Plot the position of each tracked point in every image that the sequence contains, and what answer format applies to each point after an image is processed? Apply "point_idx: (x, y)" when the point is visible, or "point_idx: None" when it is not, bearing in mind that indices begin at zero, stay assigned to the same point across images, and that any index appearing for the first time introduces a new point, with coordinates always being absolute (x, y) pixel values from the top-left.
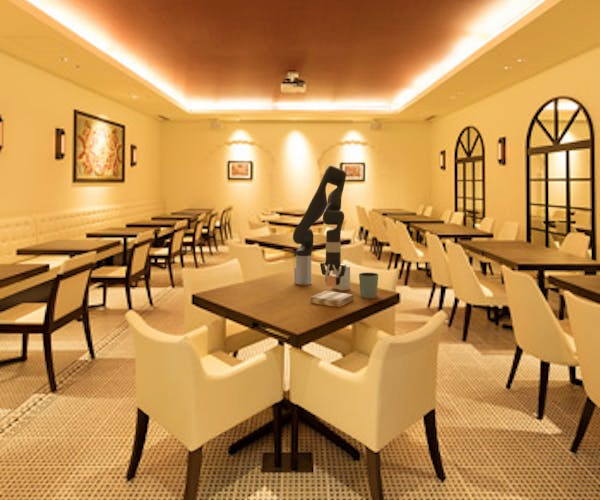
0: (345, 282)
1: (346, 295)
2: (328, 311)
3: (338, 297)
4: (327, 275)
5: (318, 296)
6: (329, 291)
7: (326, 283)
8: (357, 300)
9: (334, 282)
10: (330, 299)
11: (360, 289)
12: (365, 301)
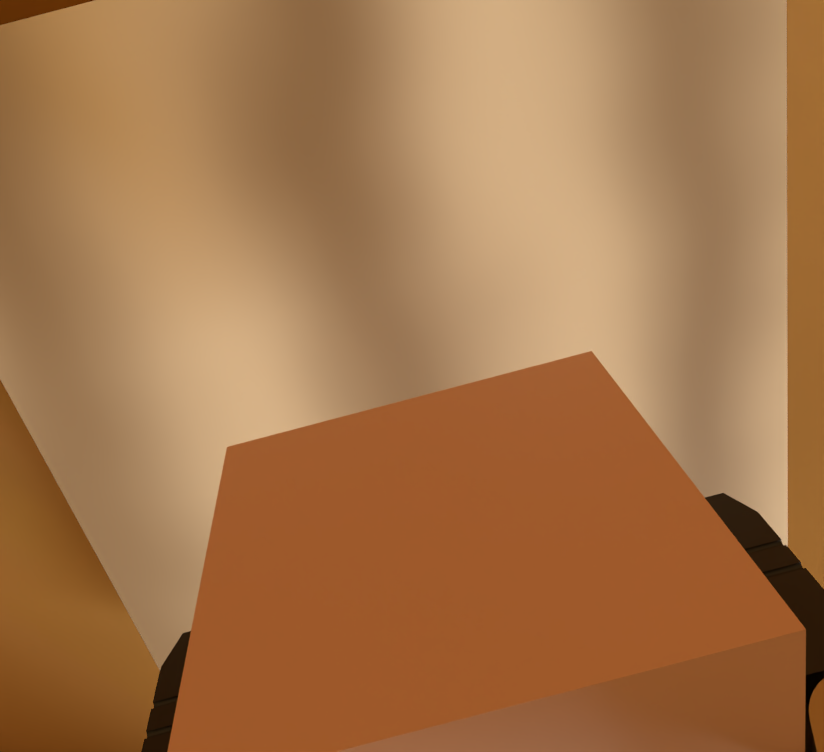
0: None
1: None
2: None
3: (187, 357)
4: (778, 729)
5: (623, 47)
6: None
7: (598, 393)
8: (149, 667)
9: (231, 545)
10: (152, 39)
11: None
12: (17, 710)
